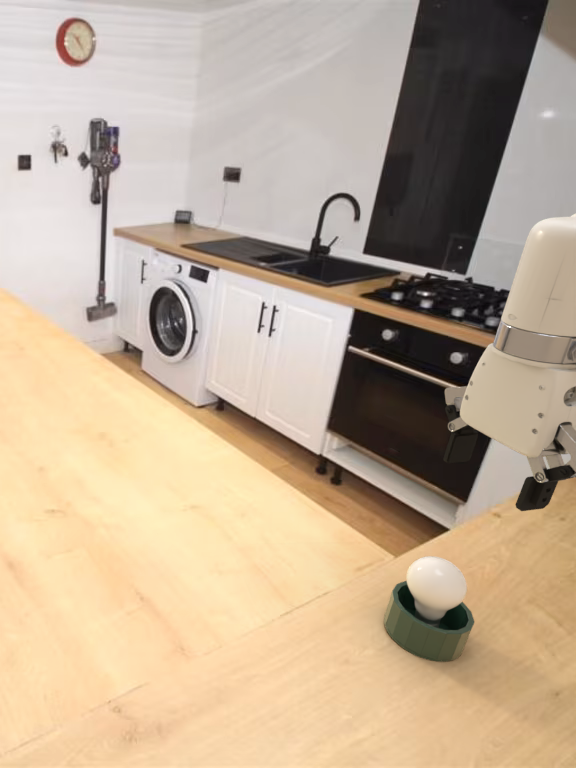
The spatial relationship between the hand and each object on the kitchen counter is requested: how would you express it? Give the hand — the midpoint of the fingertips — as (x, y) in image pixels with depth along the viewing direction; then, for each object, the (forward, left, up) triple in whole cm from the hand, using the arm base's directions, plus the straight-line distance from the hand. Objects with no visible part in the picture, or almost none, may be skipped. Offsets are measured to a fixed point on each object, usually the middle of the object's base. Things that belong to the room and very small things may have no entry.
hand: (490, 483), depth 62 cm
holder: (+2, +1, -23) cm, 23 cm away
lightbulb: (+2, +1, -23) cm, 23 cm away
